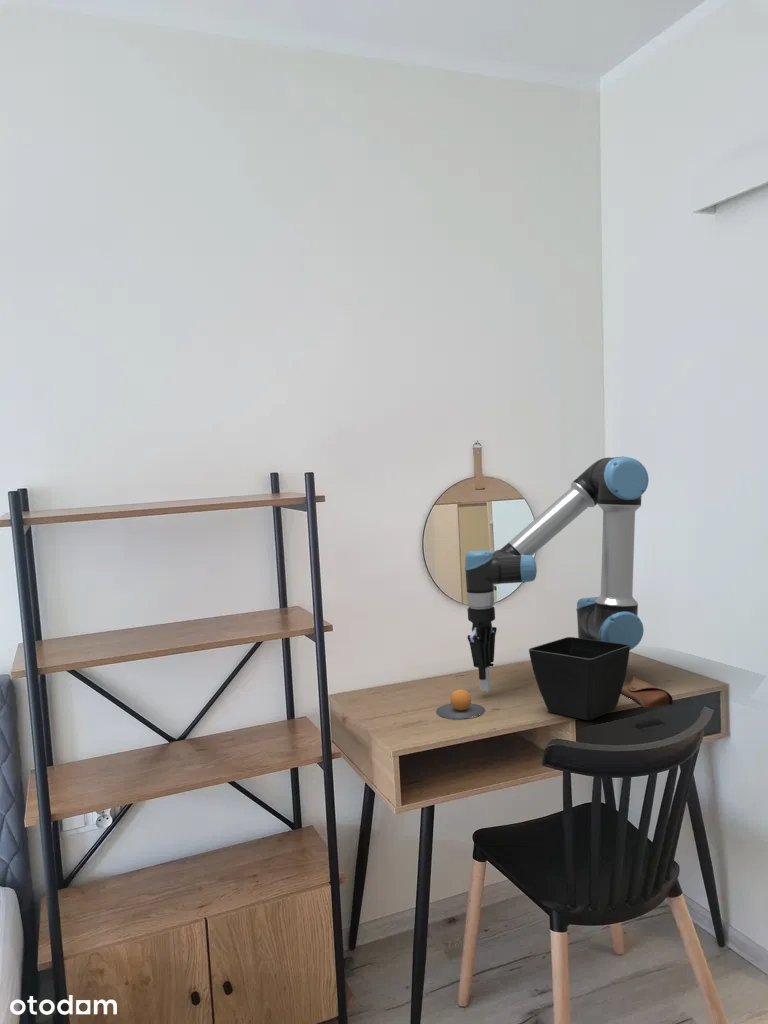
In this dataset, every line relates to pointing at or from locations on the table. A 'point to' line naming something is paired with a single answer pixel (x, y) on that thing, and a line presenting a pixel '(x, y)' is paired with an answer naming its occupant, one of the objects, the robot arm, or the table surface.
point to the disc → (452, 713)
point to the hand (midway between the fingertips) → (485, 689)
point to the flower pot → (580, 675)
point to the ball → (460, 700)
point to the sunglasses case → (645, 693)
